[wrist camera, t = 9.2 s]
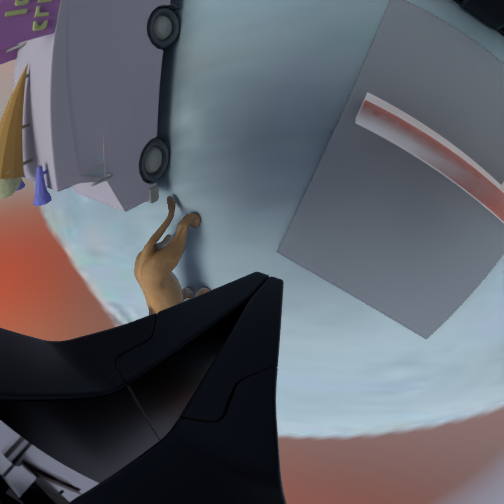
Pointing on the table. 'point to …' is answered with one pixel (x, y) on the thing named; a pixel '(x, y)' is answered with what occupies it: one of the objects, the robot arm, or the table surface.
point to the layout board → (408, 177)
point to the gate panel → (433, 155)
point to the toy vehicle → (85, 97)
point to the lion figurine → (165, 264)
